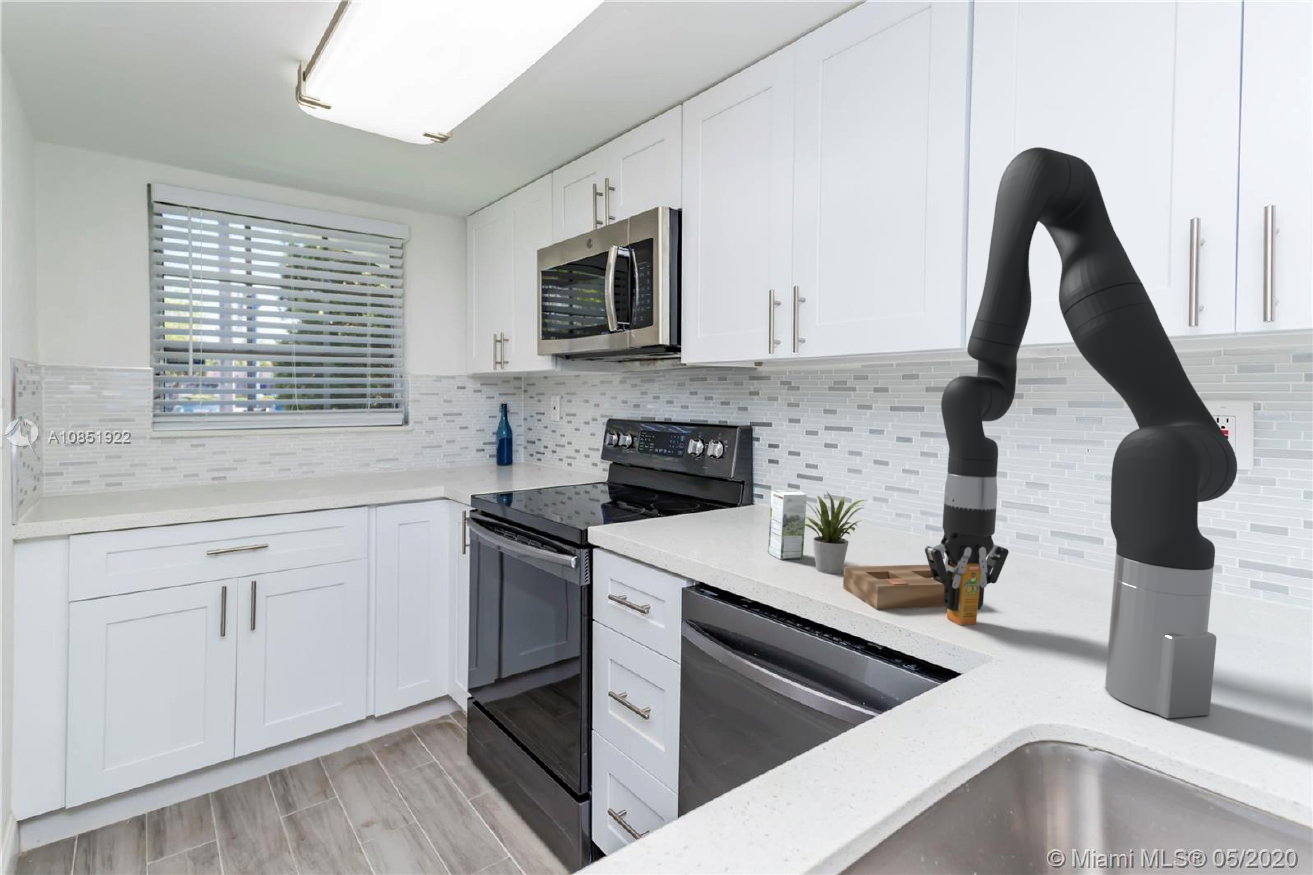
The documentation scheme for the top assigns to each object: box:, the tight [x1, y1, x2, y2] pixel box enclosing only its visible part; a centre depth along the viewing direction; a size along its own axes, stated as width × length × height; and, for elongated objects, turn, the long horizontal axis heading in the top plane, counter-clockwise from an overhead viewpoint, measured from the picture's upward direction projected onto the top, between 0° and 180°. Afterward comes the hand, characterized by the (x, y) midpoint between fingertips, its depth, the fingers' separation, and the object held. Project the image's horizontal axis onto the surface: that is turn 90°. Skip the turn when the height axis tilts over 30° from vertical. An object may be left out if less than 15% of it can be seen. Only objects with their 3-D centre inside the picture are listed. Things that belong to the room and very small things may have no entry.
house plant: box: [800, 491, 867, 574], centre depth 131 cm, size 14×14×16 cm
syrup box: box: [767, 489, 808, 560], centre depth 142 cm, size 6×6×14 cm
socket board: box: [842, 564, 946, 611], centre depth 116 cm, size 12×18×4 cm, turn 101°
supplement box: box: [946, 563, 981, 626], centre depth 103 cm, size 3×3×10 cm
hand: (963, 608), depth 104 cm, fingers closed on supplement box, 3 cm apart
